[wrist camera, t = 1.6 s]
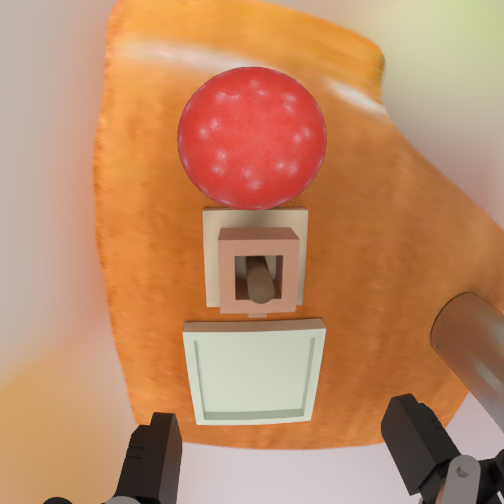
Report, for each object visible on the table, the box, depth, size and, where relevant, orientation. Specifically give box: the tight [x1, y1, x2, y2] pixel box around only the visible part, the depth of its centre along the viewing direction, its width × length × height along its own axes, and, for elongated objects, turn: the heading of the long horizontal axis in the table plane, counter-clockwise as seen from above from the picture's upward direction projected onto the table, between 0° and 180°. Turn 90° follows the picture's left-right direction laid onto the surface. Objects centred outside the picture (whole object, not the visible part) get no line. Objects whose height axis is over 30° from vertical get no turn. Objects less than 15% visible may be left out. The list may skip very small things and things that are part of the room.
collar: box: [218, 227, 300, 318], centre depth 25 cm, size 6×7×4 cm
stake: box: [202, 207, 308, 307], centre depth 25 cm, size 9×9×8 cm
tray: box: [183, 319, 326, 425], centre depth 32 cm, size 14×14×2 cm
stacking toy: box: [177, 67, 327, 211], centre depth 16 cm, size 8×8×19 cm
